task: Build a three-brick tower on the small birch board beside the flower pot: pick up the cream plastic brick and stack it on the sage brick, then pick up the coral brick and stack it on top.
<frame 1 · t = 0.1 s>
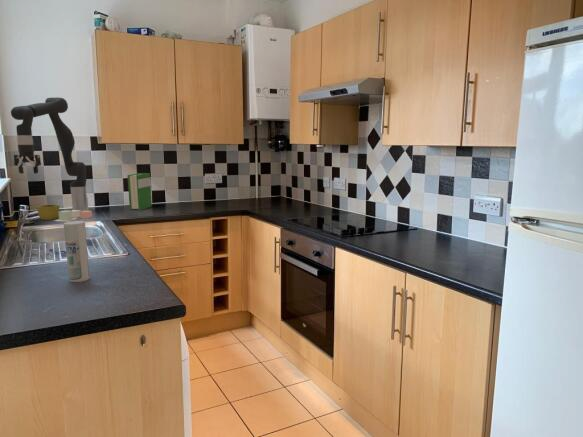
hand: (28, 173, 245), 29 cm above the worktop, tool pointing down, fingers open, 8 cm apart
flower pot: (49, 221, 264), on the worktop
hardback book: (141, 208, 312), on the worktop
coral brick: (86, 219, 269), on the worktop
cream brick: (75, 218, 271), on the worktop
sage brick: (65, 219, 262), point 1 cm above the worktop, touching birch board
birch board: (65, 221, 262), on the worktop
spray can: (79, 279, 152), on the worktop
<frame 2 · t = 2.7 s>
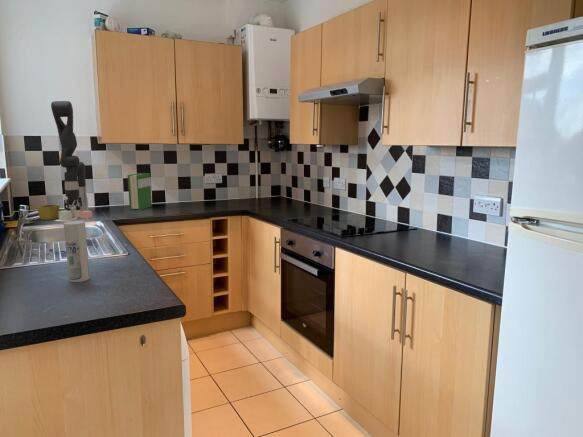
hand: (74, 215, 270), 2 cm above the worktop, tool pointing down, fingers open, 8 cm apart
sage brick: (65, 219, 262), point 1 cm above the worktop, touching birch board, gripper
everything else where it was.
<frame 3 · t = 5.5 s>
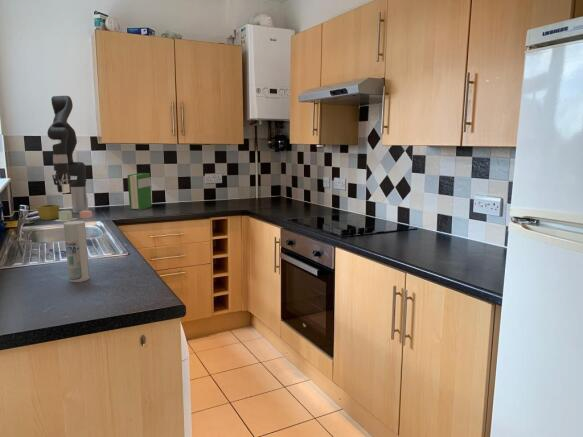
hand: (63, 191, 259), 18 cm above the worktop, tool pointing down, fingers closed on cream brick, 5 cm apart
cream brick: (63, 192, 259), point 17 cm above the worktop, touching gripper
sage brick: (65, 219, 262), point 1 cm above the worktop, touching birch board
everything else where it was.
when the fingers open (7 cm above the worktop, at t = 7.8 s): cream brick stays where it is, resting on sage brick.
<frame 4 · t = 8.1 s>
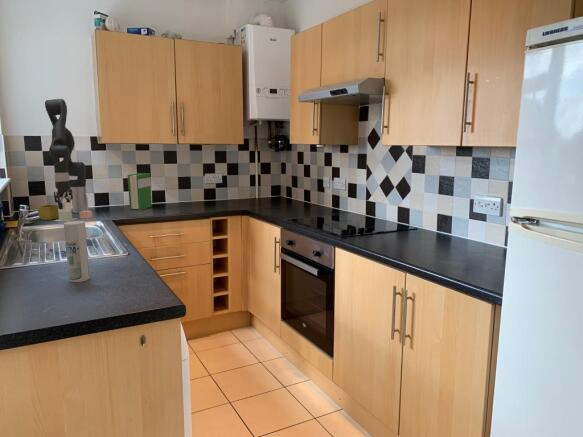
hand: (64, 208, 260), 8 cm above the worktop, tool pointing down, fingers open, 7 cm apart
cream brick: (64, 211, 261), point 6 cm above the worktop, touching sage brick
sage brick: (65, 219, 262), point 1 cm above the worktop, touching birch board, cream brick
everything else where it was.
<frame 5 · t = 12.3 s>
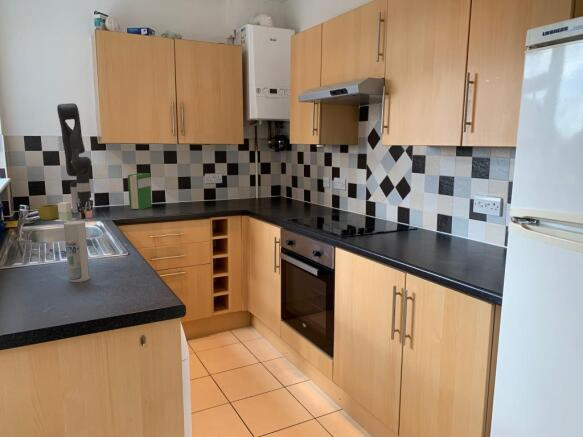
hand: (86, 218, 268), 1 cm above the worktop, tool pointing down, fingers closed on coral brick, 5 cm apart
coral brick: (86, 219, 269), on the worktop, touching gripper
everything else where it was.
when the fingers open (12 cm above the worktop, at t = 17.0 s): coral brick stays where it is, resting on cream brick.
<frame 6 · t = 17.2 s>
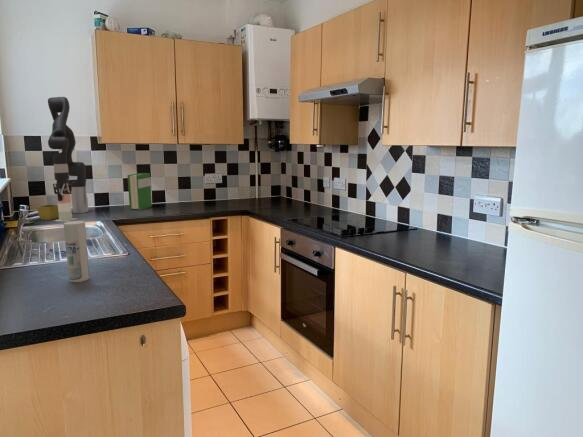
hand: (63, 200, 260), 13 cm above the worktop, tool pointing down, fingers open, 6 cm apart
coral brick: (64, 202, 260), point 11 cm above the worktop, touching cream brick
cream brick: (64, 211, 261), point 6 cm above the worktop, touching coral brick, sage brick
everything else where it was.
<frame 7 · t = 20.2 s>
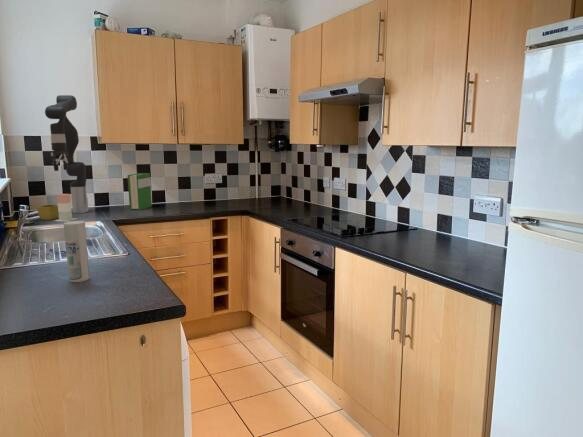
hand: (61, 170, 256), 30 cm above the worktop, tool pointing down, fingers open, 8 cm apart
nothing on the worktop moved.
at the end: cream brick 0.0 cm off-centre on the sage brick, point 5.0 cm above the sage brick's base; coral brick 0.1 cm off-centre on the cream brick, point 5.0 cm above the cream brick's base; coral brick tilted 0° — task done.
